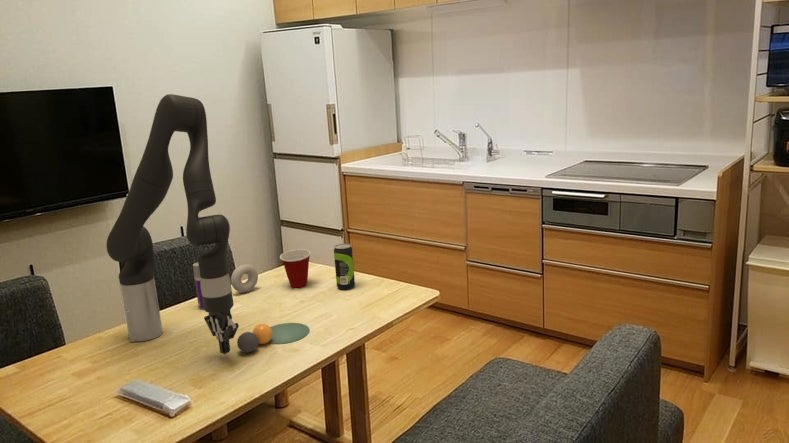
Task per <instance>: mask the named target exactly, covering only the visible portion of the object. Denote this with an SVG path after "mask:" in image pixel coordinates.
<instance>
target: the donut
mask: <svg viewBox="0 0 789 443" xmlns="http://www.w3.org/2000/svg"><path fill="white" fill-rule="evenodd" d="M244 275H247V280H246V281H245V282H242V277H243V276H244ZM258 279H259V274H258V271H257V270H256V268H255V267H254V266H252V265H251V264H247V263H246V264H245V263H244V264H241V265H239V266H237V267H236V268H235V269H234V270H233V272H232V274H231V276H230V281H231V287H232V288H233V289H234V290H235V291H236V292H237V293H241V294H242V293H248V292H250V291H252V290H253V289H254V288H255V287H256V285H257V283H258Z"/></svg>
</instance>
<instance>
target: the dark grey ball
mask: <svg viewBox="0 0 789 443" xmlns="http://www.w3.org/2000/svg"><path fill="white" fill-rule="evenodd" d="M236 344H237V348H238V349H239V351H241V352H243V353H246V354H249V353H252V352H254V351H255V350H256V349H257V348H258V346H259V343H258V338H257V336H256V335H255V334H254V333H252V332H251V331H246V332H242V333H241V334H240V335H239V337H238V338H237V342H236Z"/></svg>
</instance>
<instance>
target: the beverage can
mask: <svg viewBox="0 0 789 443" xmlns="http://www.w3.org/2000/svg"><path fill="white" fill-rule="evenodd" d="M353 254H354V253H353V247H352V244H350V243H338V244H335V245H334V248H333V258H334V266H335V268H334V269H335V270H334V271H335V277H336V278H335V279H336V281H335V282H336V287H337V288H338V290H340V289H341V290H342V291H349V290H352V289H353V288H354V287H355V285H356V282H355V270H354V269H355V268H354V257H353ZM351 288H352V289H351ZM348 289H349V290H348Z"/></svg>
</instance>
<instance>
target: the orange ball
mask: <svg viewBox="0 0 789 443" xmlns="http://www.w3.org/2000/svg"><path fill="white" fill-rule="evenodd" d="M270 327H271V326H269V325H268V324H266V323H260V324H258V325H256V326H254V328H253V330H252V332H251V333H254V334H255V335H256V336H257V338H258V345H265V344H268V343H267V342H269V341H270V340H271V338H272V329H271V328H270Z"/></svg>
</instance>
